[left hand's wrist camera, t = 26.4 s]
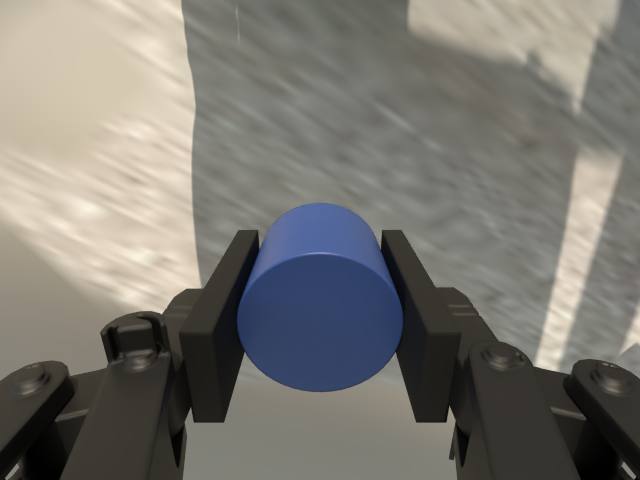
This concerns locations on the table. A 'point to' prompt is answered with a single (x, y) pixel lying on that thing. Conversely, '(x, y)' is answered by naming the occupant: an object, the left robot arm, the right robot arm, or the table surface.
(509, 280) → the table surface
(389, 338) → the can
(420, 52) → the table surface
